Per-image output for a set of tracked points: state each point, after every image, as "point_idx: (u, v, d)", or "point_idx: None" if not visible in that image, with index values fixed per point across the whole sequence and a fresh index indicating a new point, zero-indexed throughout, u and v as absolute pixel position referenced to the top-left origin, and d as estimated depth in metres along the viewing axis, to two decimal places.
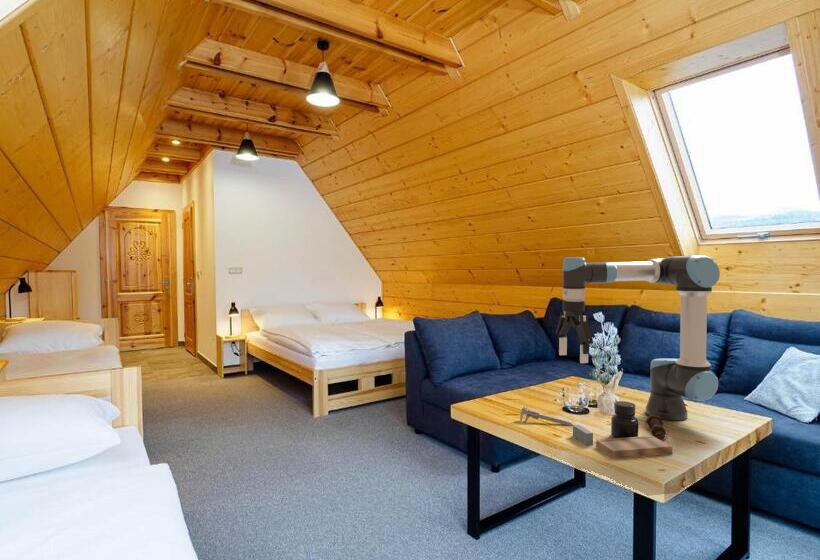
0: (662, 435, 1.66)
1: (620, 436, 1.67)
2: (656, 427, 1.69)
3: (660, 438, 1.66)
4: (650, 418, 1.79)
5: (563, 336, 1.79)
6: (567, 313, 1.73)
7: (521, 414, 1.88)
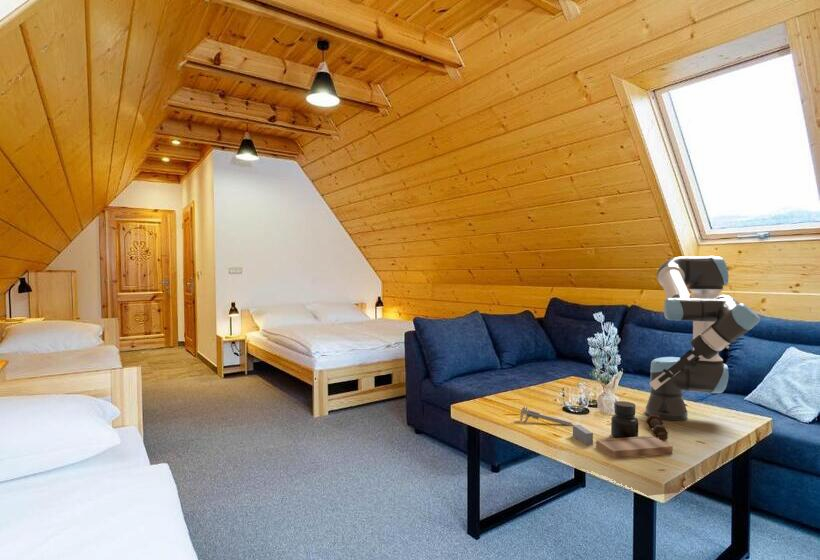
0: (664, 435, 1.66)
1: (620, 436, 1.67)
2: (658, 427, 1.69)
3: (663, 438, 1.66)
4: (650, 418, 1.79)
5: None
6: (698, 356, 1.52)
7: (521, 414, 1.88)
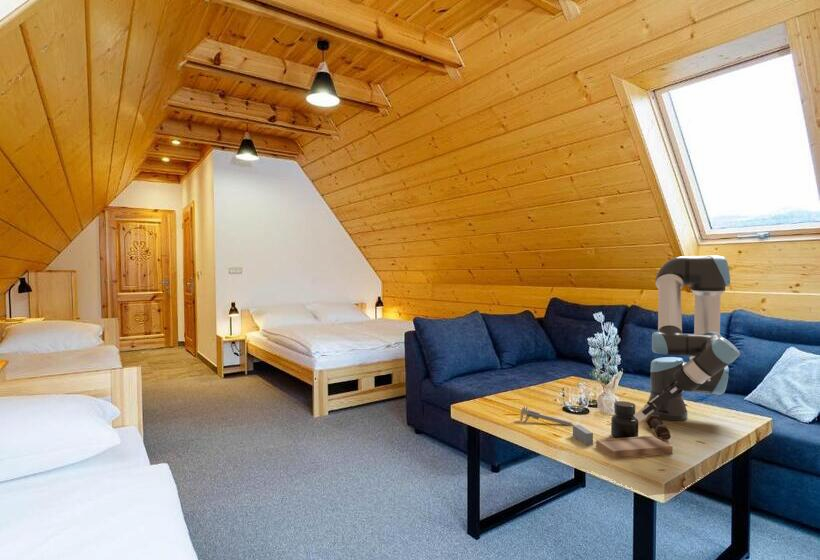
0: (667, 435, 1.66)
1: (620, 436, 1.67)
2: (660, 427, 1.69)
3: (666, 438, 1.66)
4: (650, 418, 1.79)
5: None
6: (680, 389, 1.55)
7: (521, 414, 1.88)
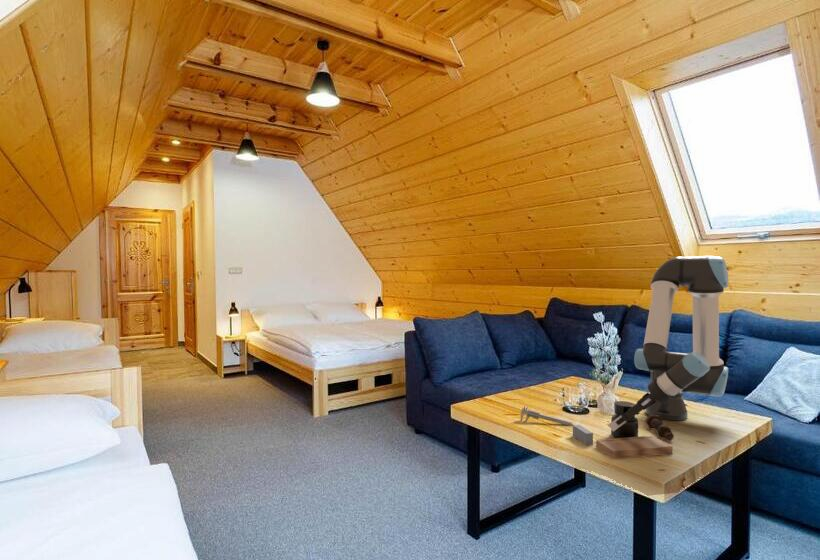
0: (671, 435, 1.66)
1: (620, 436, 1.67)
2: (663, 427, 1.69)
3: (669, 438, 1.66)
4: (650, 418, 1.79)
5: None
6: (654, 400, 1.61)
7: (521, 414, 1.88)
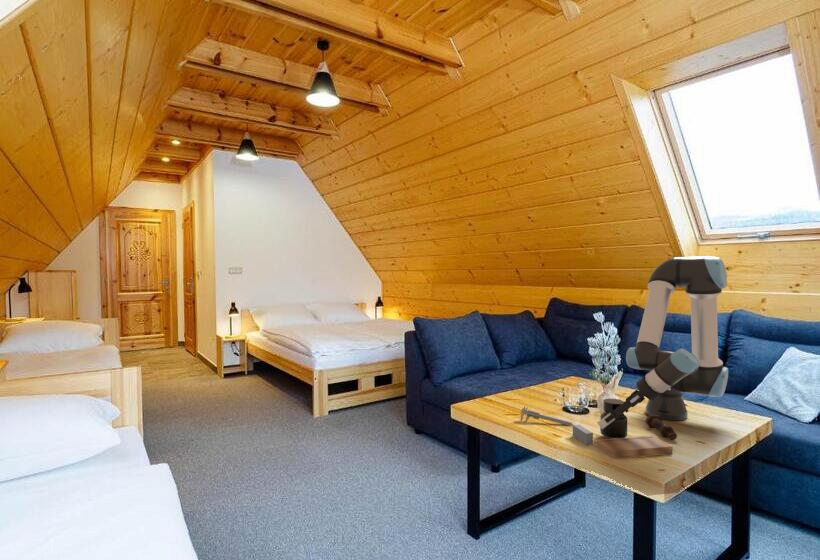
0: (674, 435, 1.66)
1: (609, 434, 1.66)
2: (666, 427, 1.69)
3: (673, 438, 1.66)
4: (651, 418, 1.79)
5: None
6: (642, 397, 1.60)
7: (521, 414, 1.88)
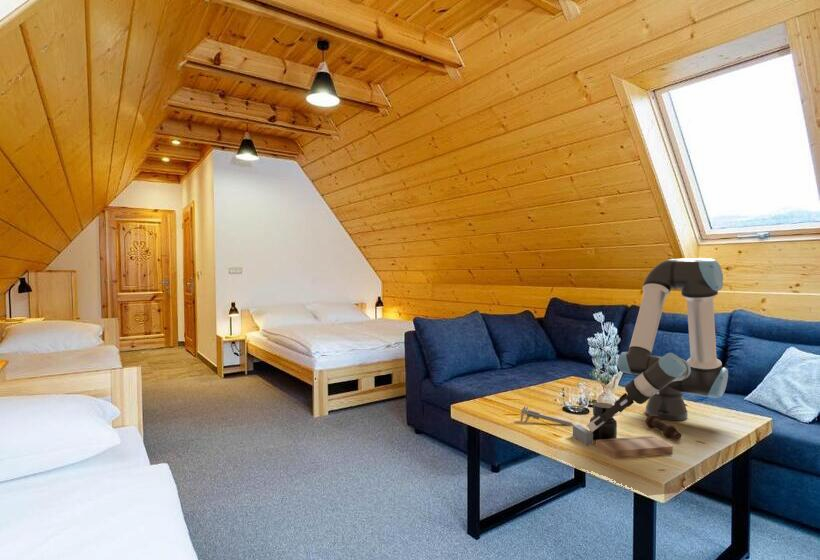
0: (679, 435, 1.66)
1: (598, 438, 1.65)
2: (669, 427, 1.69)
3: (678, 438, 1.66)
4: (651, 418, 1.79)
5: None
6: (631, 401, 1.60)
7: (521, 414, 1.88)
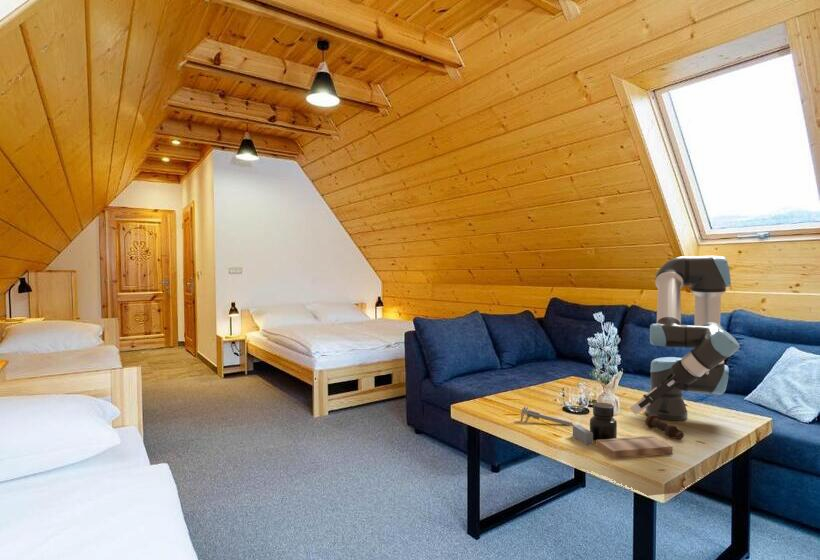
0: (682, 434, 1.66)
1: (598, 438, 1.65)
2: (671, 427, 1.69)
3: (680, 438, 1.66)
4: (651, 418, 1.79)
5: None
6: (678, 381, 1.52)
7: (522, 414, 1.88)
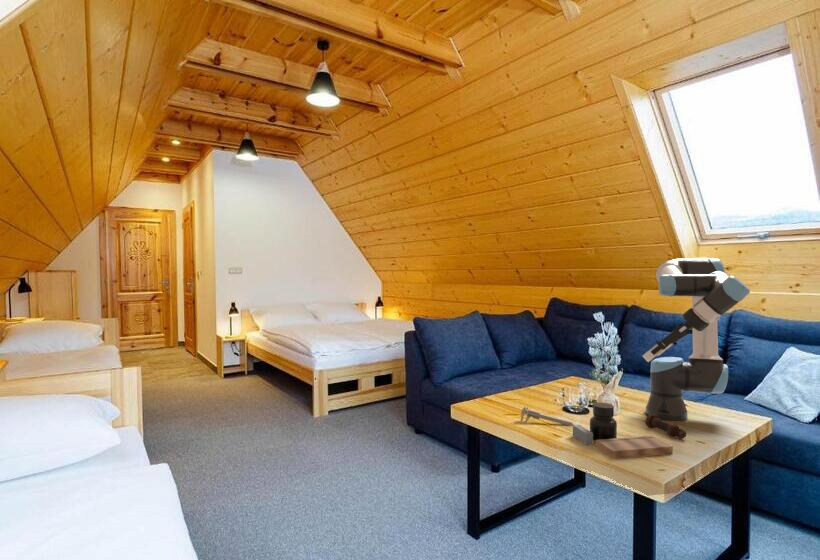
0: (684, 433, 1.67)
1: (598, 438, 1.65)
2: (673, 426, 1.70)
3: (683, 437, 1.67)
4: (651, 418, 1.79)
5: None
6: (689, 328, 1.56)
7: (522, 414, 1.88)
